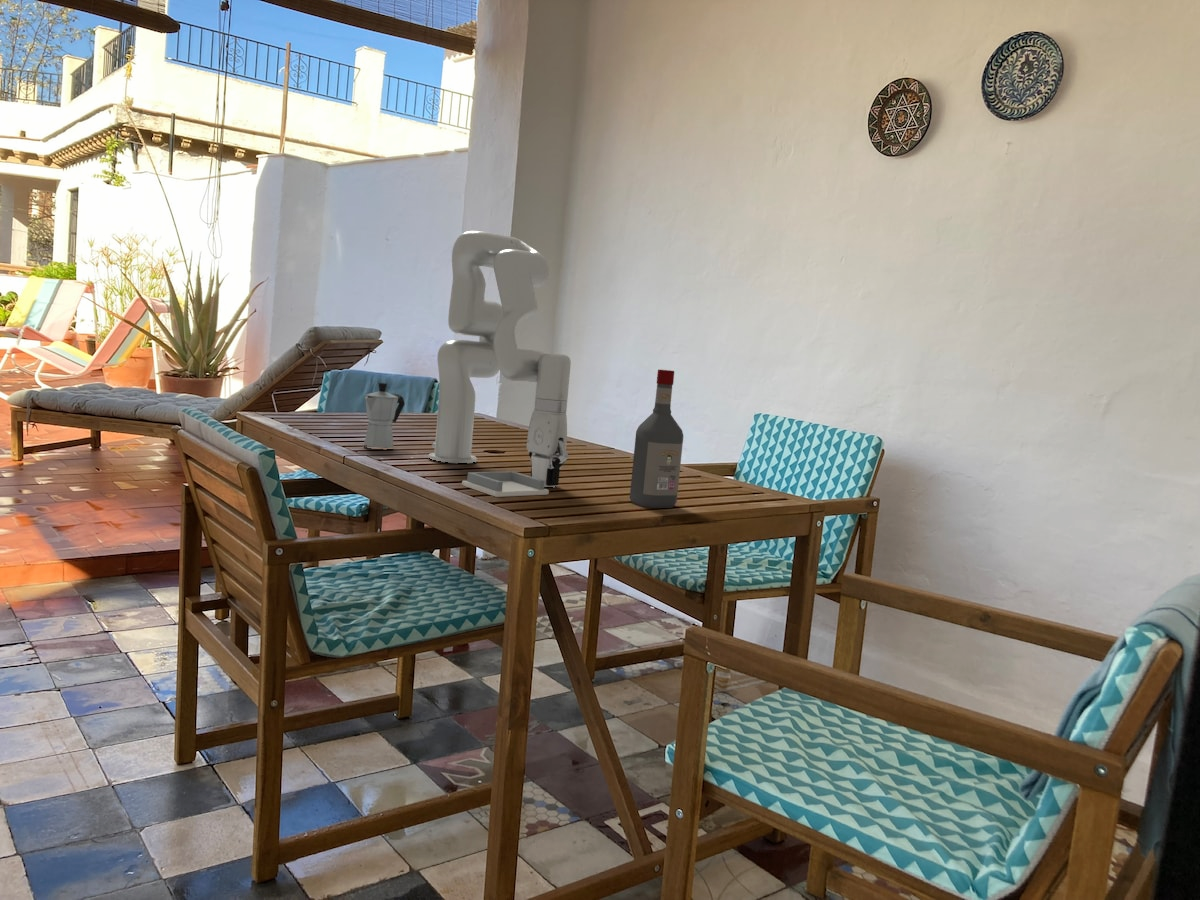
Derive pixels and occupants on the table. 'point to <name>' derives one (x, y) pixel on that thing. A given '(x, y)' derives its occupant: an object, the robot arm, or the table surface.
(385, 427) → the coffee maker
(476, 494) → the table surface
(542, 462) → the white cup
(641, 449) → the liquor
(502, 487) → the u rest
